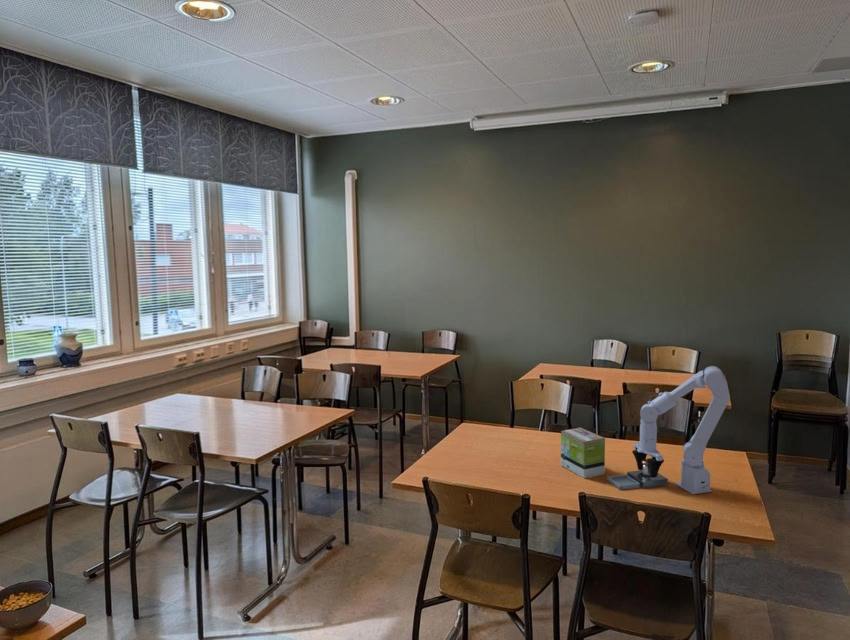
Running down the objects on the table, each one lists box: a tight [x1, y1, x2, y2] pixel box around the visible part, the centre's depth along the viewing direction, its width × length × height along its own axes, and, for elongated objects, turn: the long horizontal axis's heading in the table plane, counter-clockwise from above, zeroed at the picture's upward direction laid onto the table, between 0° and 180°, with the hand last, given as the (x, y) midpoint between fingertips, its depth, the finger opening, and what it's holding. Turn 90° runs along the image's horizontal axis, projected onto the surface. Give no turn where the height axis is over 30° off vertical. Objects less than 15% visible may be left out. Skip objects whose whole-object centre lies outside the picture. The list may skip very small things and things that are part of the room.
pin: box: [642, 458, 651, 478], centre depth 214 cm, size 4×4×8 cm
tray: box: [606, 474, 641, 491], centre depth 213 cm, size 9×8×2 cm
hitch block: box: [626, 469, 669, 489], centre depth 215 cm, size 10×10×2 cm
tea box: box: [560, 427, 606, 479], centre depth 227 cm, size 15×10×15 cm
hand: (647, 473), depth 214 cm, fingers open, 7 cm apart
